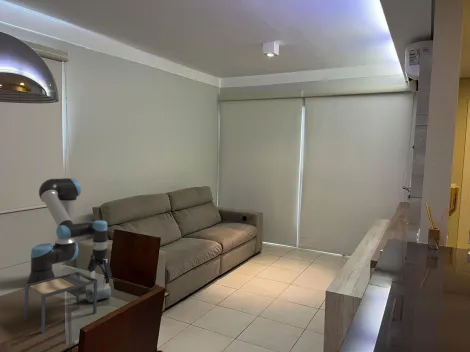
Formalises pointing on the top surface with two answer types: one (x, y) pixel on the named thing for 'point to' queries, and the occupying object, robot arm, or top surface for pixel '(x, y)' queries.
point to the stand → (78, 274)
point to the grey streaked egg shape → (98, 293)
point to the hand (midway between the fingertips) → (99, 285)
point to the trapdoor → (60, 286)
